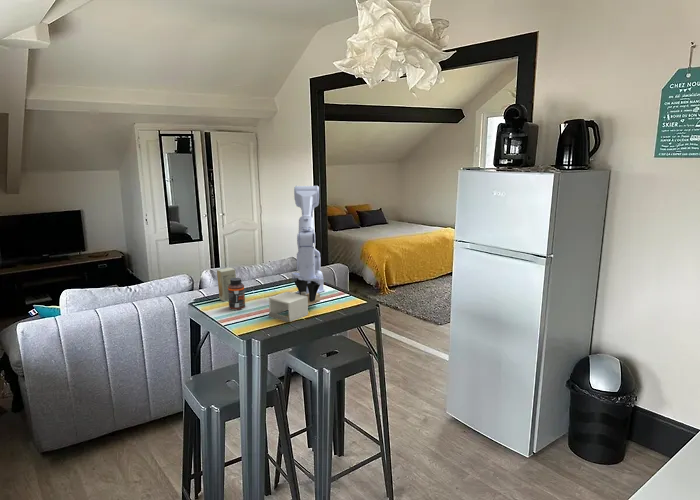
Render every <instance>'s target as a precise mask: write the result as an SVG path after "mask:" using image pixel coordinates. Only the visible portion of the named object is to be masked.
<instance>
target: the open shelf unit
mask: <svg viewBox="0 0 700 500" xmlns="http://www.w3.org/2000/svg"><path fill="white" fill-rule="evenodd" d="M268 306H269V312H268V317H269V318H273V319H276V320H279V321H282V322H286V323H289V322H294V321H296V320H298V319H301V318H303V317H306V316H309V306H308V297H307V296H303V295H300V294H299V293H296V292H295V293H294V292H290V291H285V292H282V293H278V294H276V295H273V296H269V297H268ZM286 311H288V316H285V315H282V314H281V313H283V312H286Z"/></svg>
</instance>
